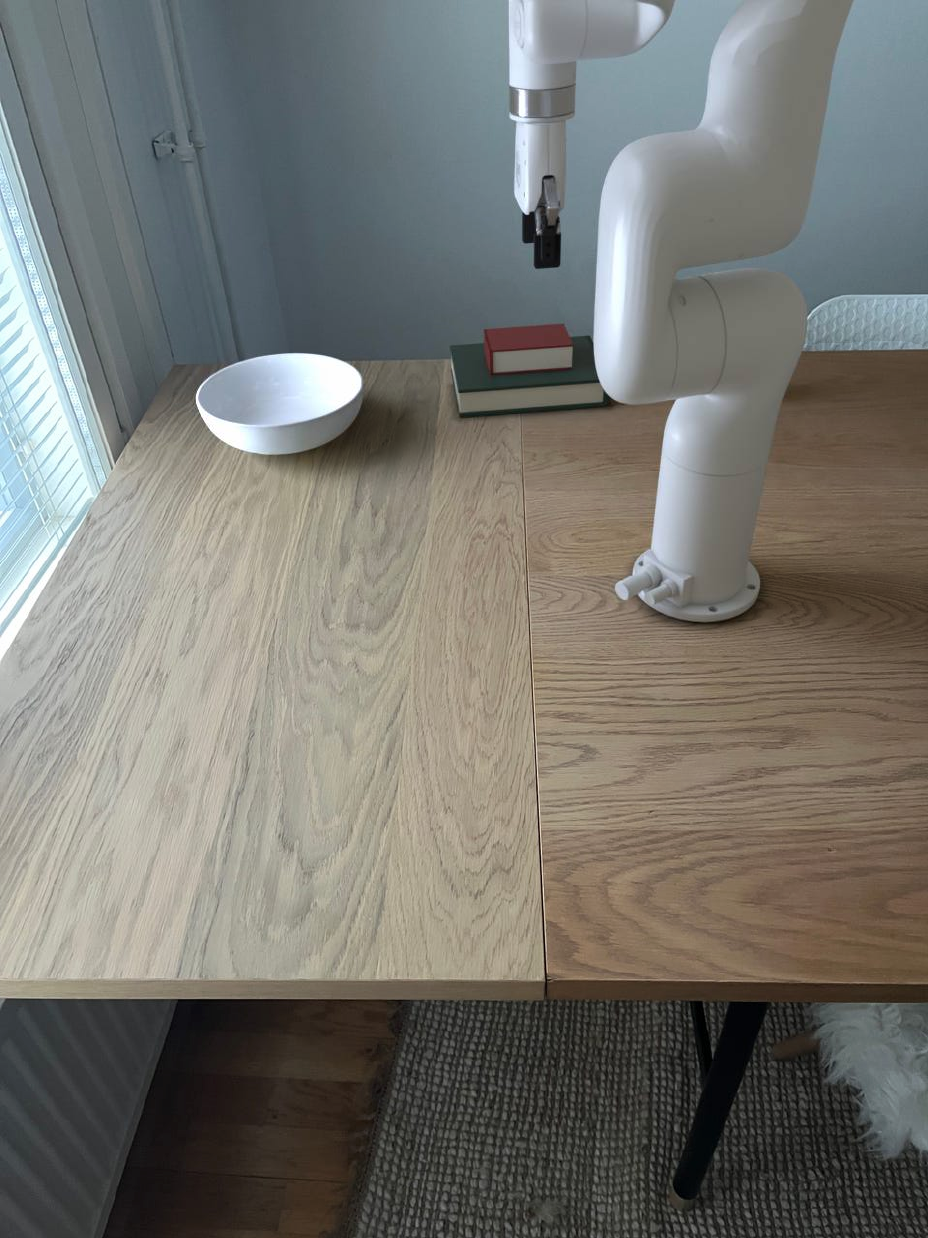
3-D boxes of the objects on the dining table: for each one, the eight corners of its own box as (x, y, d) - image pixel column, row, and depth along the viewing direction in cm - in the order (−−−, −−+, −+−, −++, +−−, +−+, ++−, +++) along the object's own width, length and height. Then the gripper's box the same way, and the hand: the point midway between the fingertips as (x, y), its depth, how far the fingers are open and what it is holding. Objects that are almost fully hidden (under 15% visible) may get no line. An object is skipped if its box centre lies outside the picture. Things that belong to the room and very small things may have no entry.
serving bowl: (389, 453, 119) (384, 403, 114) (223, 491, 113) (211, 440, 109) (343, 386, 134) (337, 339, 130) (195, 416, 128) (183, 369, 124)
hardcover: (588, 361, 137) (589, 335, 135) (608, 406, 127) (610, 378, 124) (451, 371, 136) (449, 345, 134) (459, 417, 126) (458, 389, 123)
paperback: (490, 375, 126) (489, 350, 124) (484, 353, 131) (483, 328, 129) (572, 369, 126) (573, 344, 124) (563, 347, 132) (563, 323, 130)
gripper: (500, 89, 115) (502, 235, 126) (520, 120, 102) (520, 280, 112) (561, 85, 115) (558, 231, 126) (589, 115, 102) (583, 275, 113)
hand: (540, 254), depth 119 cm, fingers open, 9 cm apart
